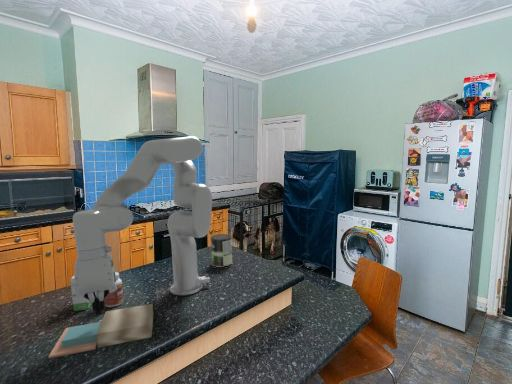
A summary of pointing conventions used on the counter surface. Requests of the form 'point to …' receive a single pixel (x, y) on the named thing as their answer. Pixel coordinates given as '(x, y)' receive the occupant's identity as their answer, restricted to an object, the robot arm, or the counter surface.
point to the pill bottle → (115, 294)
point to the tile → (81, 335)
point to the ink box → (79, 299)
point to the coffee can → (221, 250)
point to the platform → (125, 325)
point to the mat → (61, 351)
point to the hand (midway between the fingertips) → (99, 312)
